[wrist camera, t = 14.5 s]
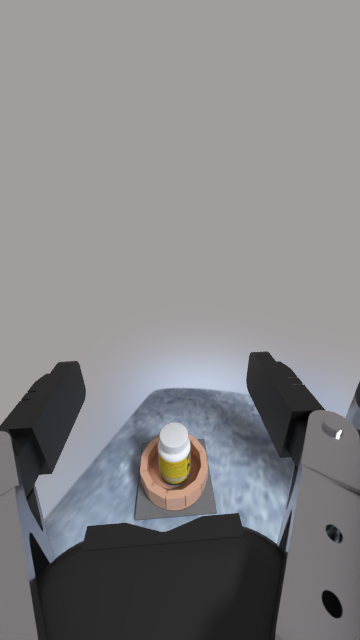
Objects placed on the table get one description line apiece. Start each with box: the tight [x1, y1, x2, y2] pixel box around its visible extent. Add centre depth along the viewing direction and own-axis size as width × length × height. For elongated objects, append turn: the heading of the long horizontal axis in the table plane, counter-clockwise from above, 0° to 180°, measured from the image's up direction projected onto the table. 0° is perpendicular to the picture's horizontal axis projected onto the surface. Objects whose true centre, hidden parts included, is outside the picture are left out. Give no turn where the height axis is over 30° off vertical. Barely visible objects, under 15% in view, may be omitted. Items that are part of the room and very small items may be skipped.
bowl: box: [140, 435, 208, 511], centre depth 34 cm, size 10×10×3 cm
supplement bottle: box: [158, 422, 191, 487], centre depth 33 cm, size 5×5×8 cm
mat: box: [135, 439, 217, 520], centre depth 35 cm, size 11×11×1 cm
